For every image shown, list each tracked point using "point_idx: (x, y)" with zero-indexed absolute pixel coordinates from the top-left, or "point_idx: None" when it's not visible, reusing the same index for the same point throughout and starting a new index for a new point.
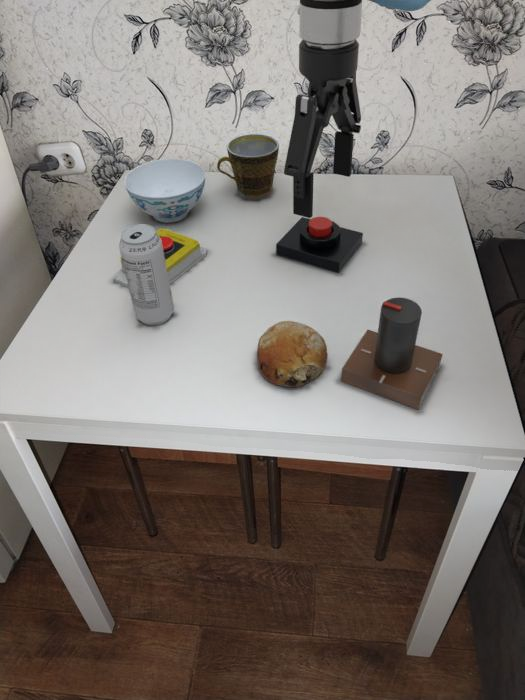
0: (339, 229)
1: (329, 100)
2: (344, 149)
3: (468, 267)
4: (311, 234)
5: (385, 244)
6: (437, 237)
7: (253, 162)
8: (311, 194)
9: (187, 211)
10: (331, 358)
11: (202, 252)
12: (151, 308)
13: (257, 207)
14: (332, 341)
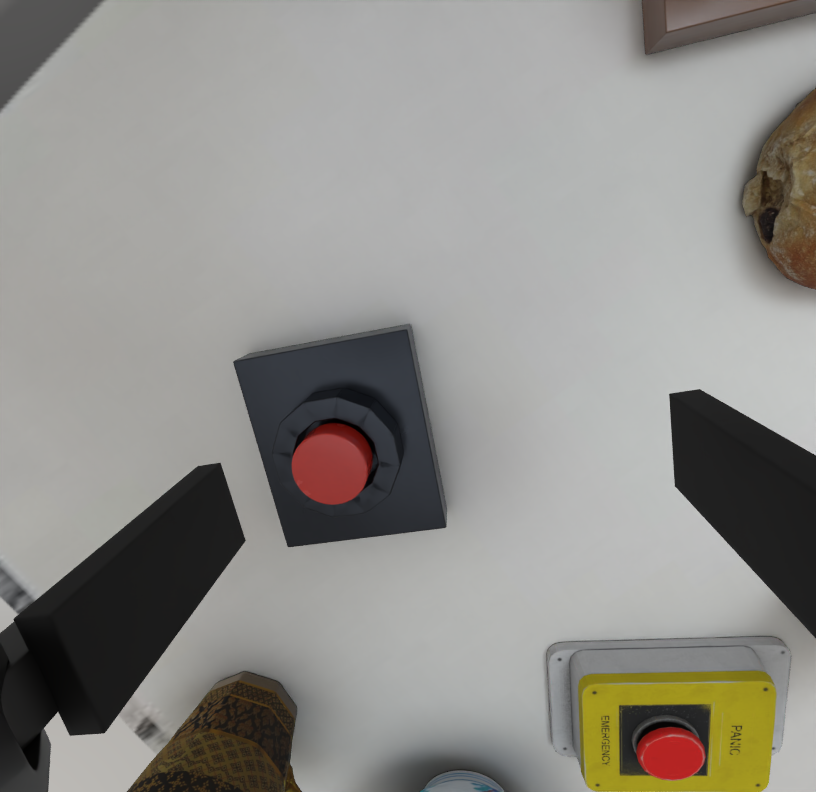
0: (294, 412)
1: None
2: (147, 581)
3: (123, 4)
4: (371, 466)
5: (205, 295)
6: (65, 185)
7: None
8: (770, 441)
9: (470, 784)
10: (768, 97)
11: (566, 655)
12: None
13: (303, 665)
14: (696, 144)
